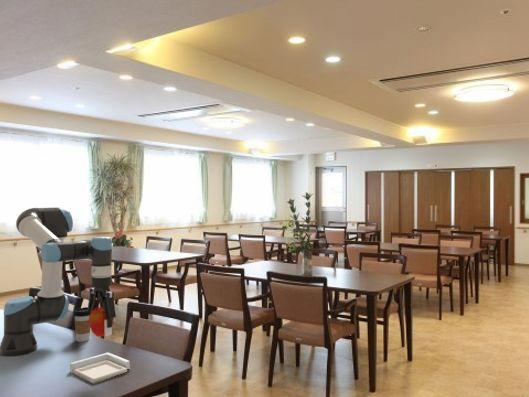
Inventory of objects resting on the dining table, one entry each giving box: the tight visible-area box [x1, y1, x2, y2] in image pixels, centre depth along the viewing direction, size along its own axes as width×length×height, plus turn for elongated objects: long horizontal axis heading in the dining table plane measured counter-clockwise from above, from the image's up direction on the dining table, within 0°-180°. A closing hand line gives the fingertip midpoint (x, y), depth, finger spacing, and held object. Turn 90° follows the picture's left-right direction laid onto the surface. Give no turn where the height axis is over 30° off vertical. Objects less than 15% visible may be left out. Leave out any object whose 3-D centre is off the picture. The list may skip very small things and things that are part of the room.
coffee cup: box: [73, 306, 91, 343], centre depth 223 cm, size 8×8×15 cm
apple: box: [89, 305, 114, 338], centre depth 180 cm, size 9×9×12 cm
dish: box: [73, 360, 128, 384], centre depth 180 cm, size 14×14×2 cm
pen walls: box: [69, 352, 131, 374], centre depth 183 cm, size 16×17×4 cm
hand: (101, 333), depth 180 cm, fingers closed on apple, 9 cm apart
